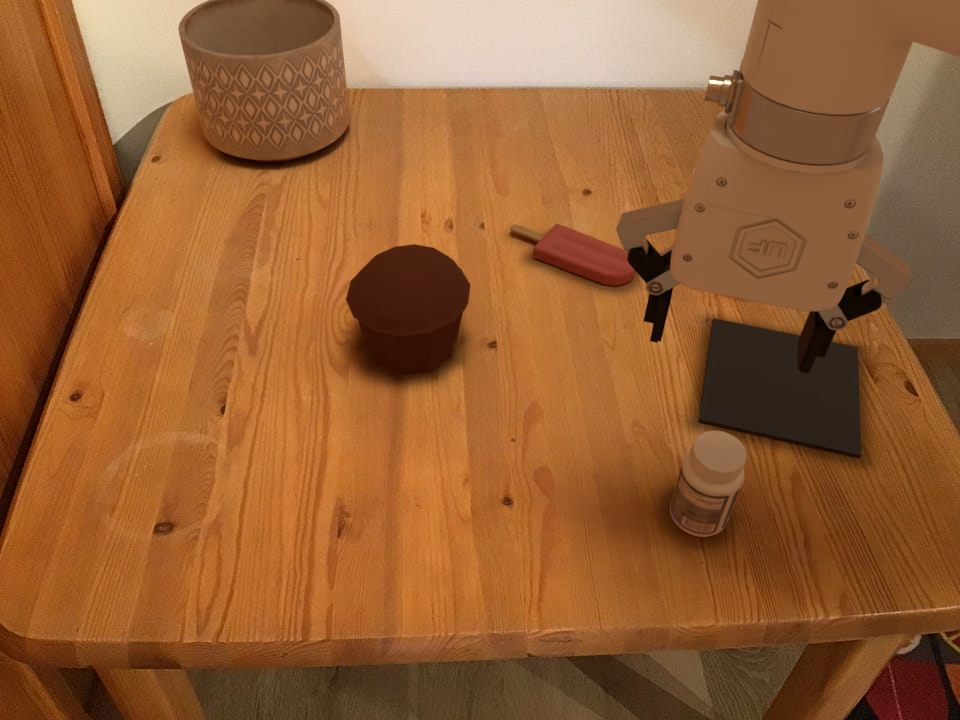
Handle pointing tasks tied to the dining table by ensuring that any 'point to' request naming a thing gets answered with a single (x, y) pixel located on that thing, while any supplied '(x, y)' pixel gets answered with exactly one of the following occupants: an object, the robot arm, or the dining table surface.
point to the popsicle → (580, 254)
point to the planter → (267, 76)
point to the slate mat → (781, 389)
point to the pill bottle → (708, 484)
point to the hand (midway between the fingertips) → (729, 343)
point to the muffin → (409, 307)
